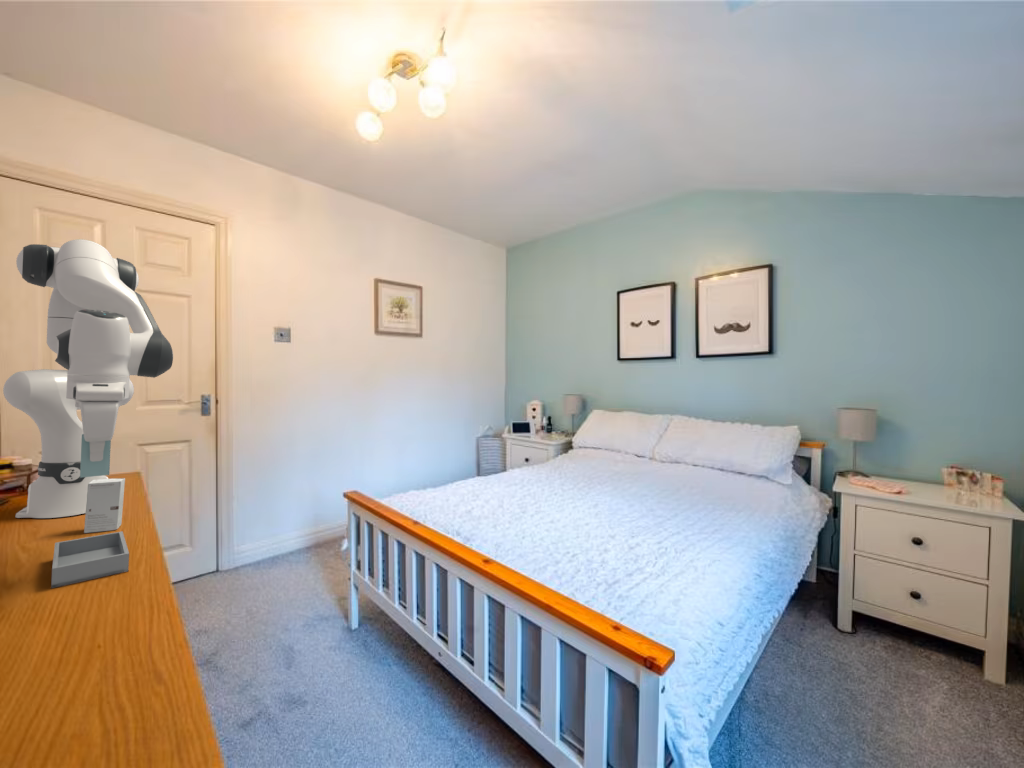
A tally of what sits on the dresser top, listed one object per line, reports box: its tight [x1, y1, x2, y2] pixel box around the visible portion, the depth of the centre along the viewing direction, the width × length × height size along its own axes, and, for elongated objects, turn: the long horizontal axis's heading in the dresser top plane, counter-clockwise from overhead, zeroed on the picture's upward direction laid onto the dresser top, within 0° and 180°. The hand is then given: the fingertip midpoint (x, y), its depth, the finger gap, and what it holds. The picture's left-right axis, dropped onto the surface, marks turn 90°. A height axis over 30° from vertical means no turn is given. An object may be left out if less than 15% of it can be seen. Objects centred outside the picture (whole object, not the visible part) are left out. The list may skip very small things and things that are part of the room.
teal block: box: [80, 434, 112, 478], centre depth 81 cm, size 4×4×8 cm
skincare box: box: [83, 477, 126, 534], centre depth 100 cm, size 6×4×12 cm
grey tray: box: [50, 530, 130, 589], centre depth 81 cm, size 16×10×4 cm, turn 47°
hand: (95, 458), depth 81 cm, fingers closed on teal block, 4 cm apart
